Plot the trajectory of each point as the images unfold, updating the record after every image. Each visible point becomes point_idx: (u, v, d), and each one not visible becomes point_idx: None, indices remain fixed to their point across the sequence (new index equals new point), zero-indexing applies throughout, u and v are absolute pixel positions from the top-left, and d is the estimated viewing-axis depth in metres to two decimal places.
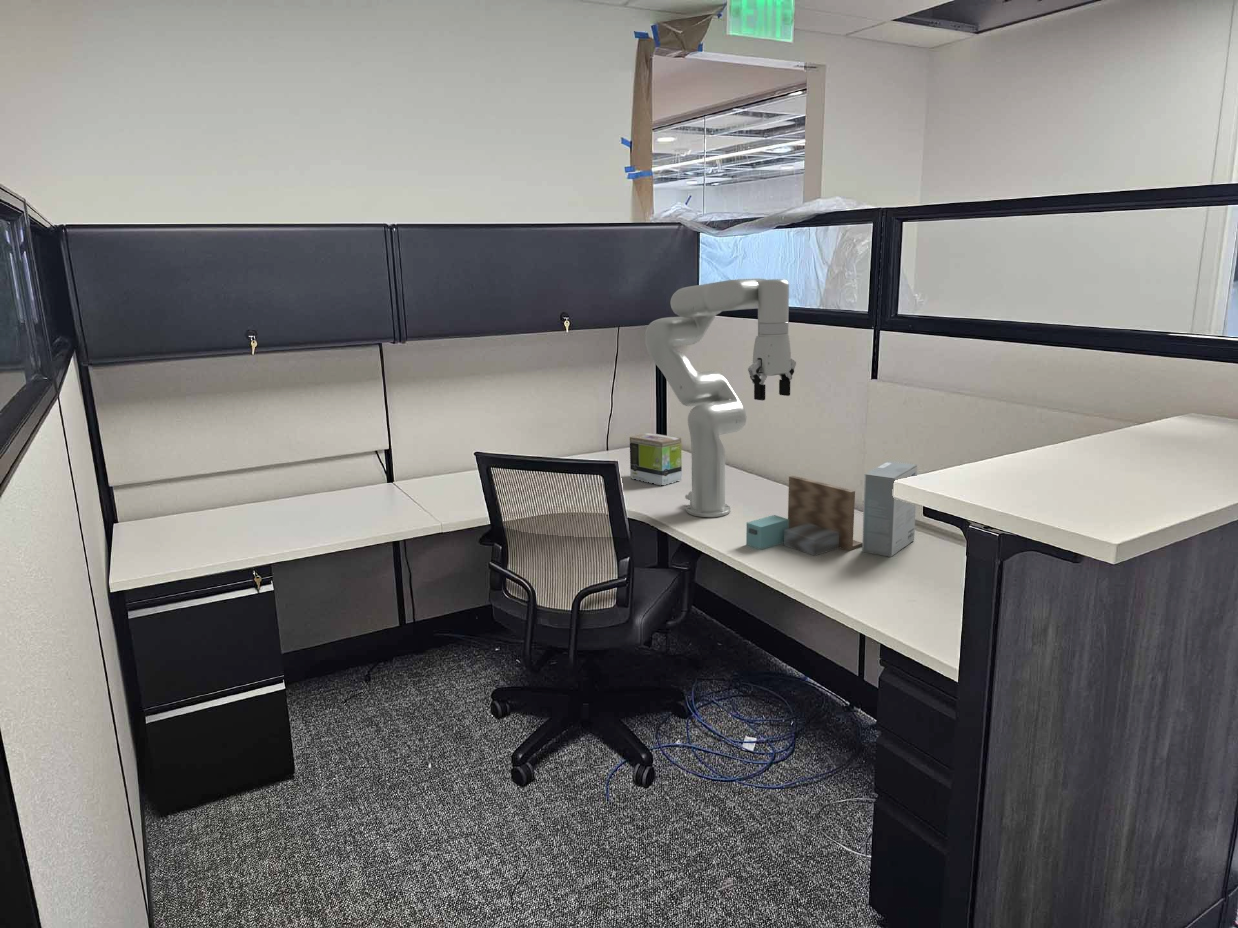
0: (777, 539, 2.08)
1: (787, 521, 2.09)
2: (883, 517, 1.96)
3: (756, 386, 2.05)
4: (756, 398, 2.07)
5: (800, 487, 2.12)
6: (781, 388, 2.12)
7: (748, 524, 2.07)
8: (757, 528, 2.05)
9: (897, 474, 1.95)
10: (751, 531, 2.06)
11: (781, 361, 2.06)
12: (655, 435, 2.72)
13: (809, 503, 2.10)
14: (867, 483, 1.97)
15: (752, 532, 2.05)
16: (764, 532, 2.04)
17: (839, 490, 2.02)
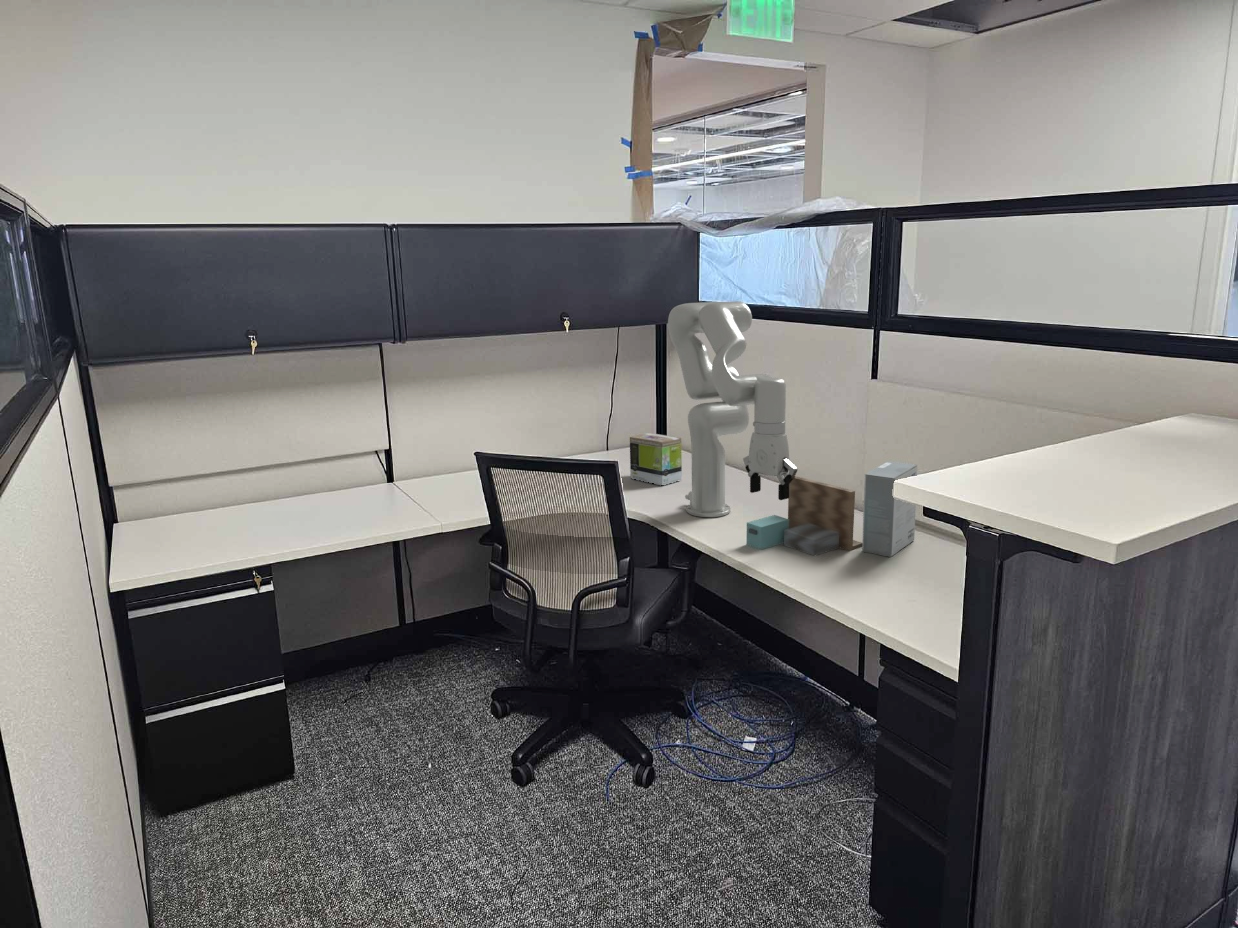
0: (777, 539, 2.08)
1: (787, 521, 2.09)
2: (883, 517, 1.96)
3: (786, 486, 2.01)
4: (782, 498, 2.02)
5: (800, 487, 2.12)
6: (754, 485, 2.09)
7: (748, 524, 2.07)
8: (757, 528, 2.05)
9: (897, 474, 1.95)
10: (751, 531, 2.06)
11: None
12: (655, 435, 2.72)
13: (809, 503, 2.10)
14: (868, 483, 1.97)
15: (752, 532, 2.05)
16: (764, 532, 2.05)
17: (839, 490, 2.02)
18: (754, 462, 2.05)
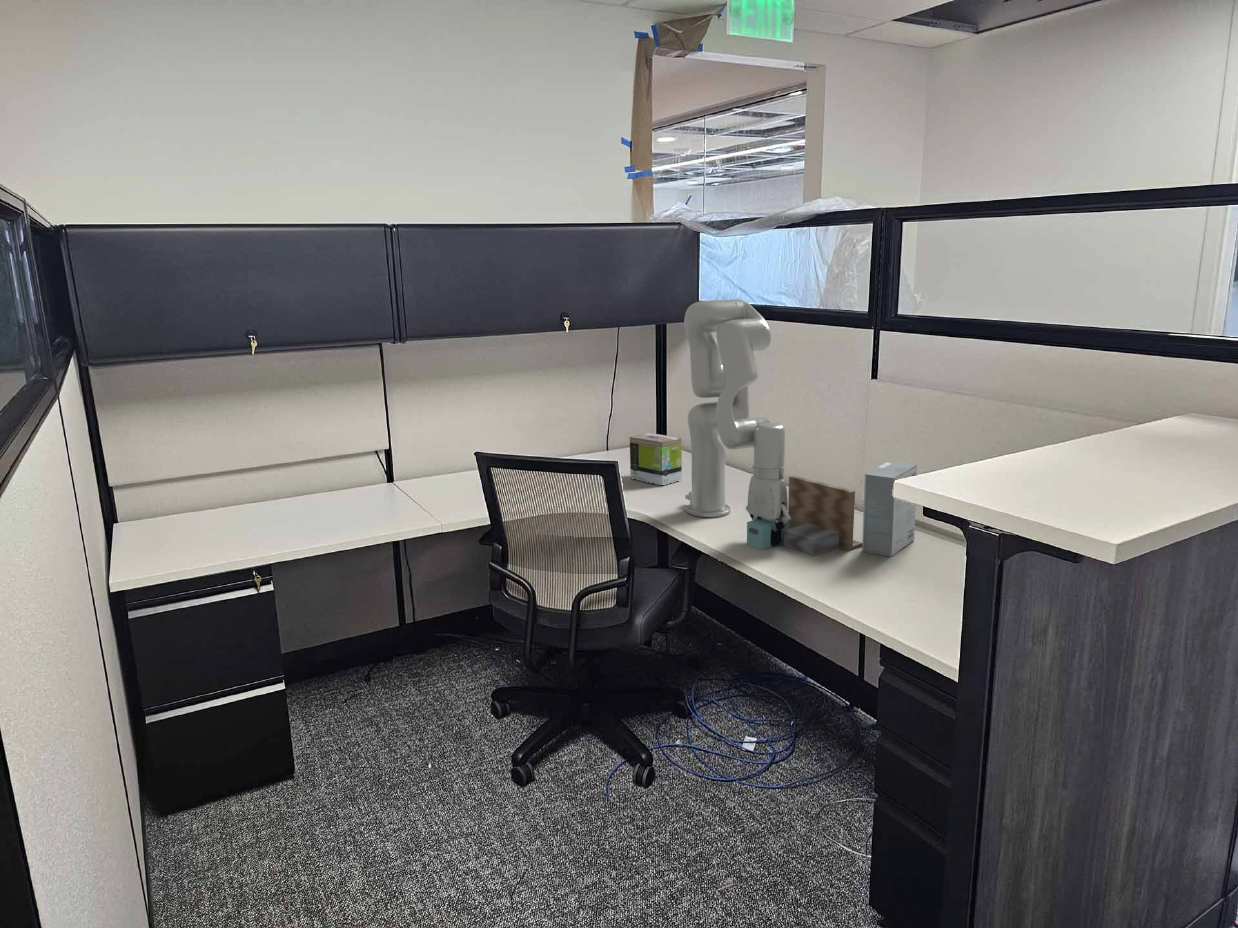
0: None
1: None
2: (883, 517, 1.96)
3: (778, 532, 2.05)
4: (774, 544, 2.06)
5: (800, 487, 2.12)
6: None
7: (748, 523, 2.07)
8: (757, 527, 2.04)
9: (897, 474, 1.95)
10: (751, 531, 2.05)
11: None
12: (655, 435, 2.72)
13: (809, 503, 2.10)
14: (867, 483, 1.97)
15: (752, 531, 2.05)
16: (765, 531, 2.04)
17: (839, 490, 2.02)
18: (753, 505, 2.07)
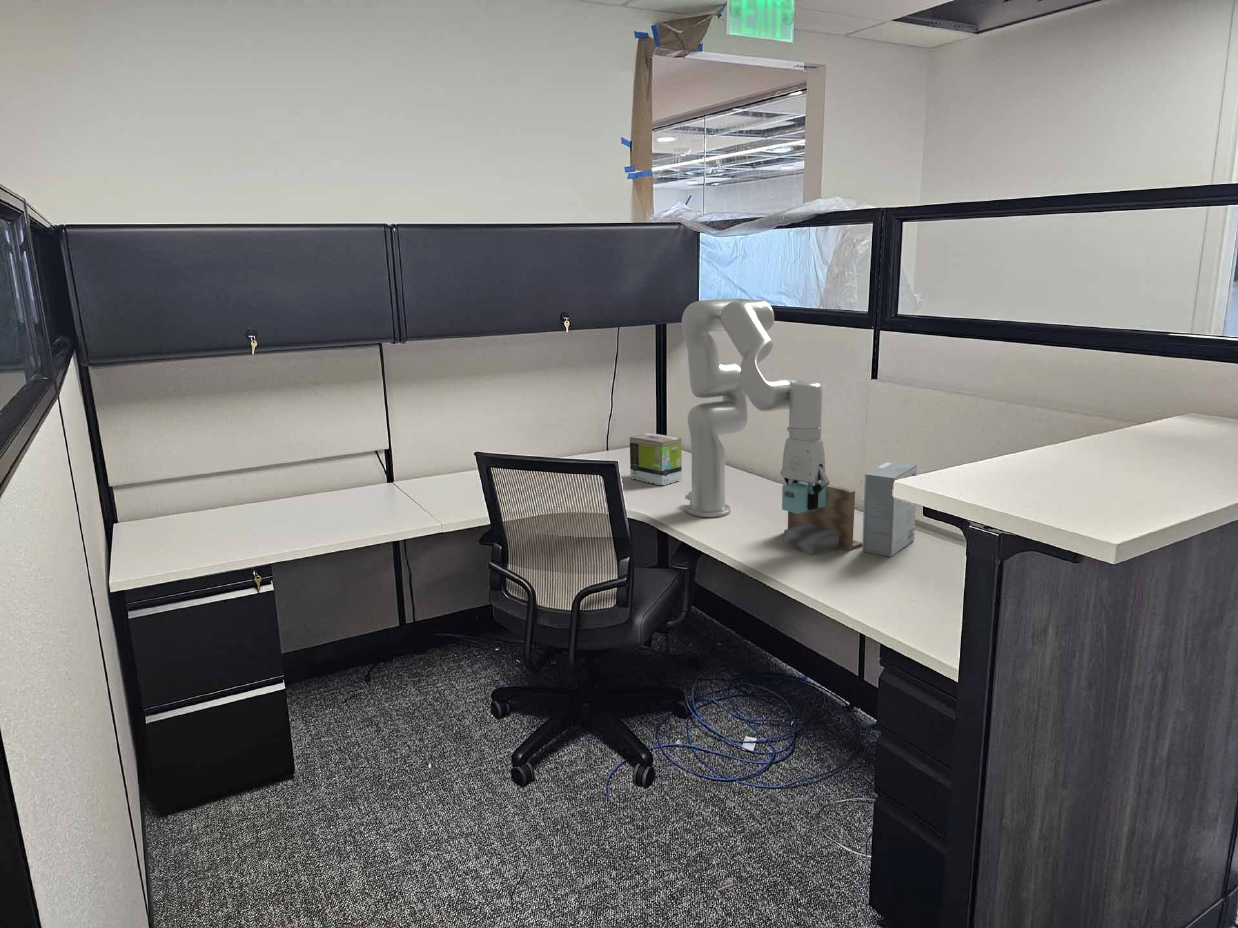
0: None
1: None
2: (883, 517, 1.96)
3: (815, 496, 1.97)
4: (811, 508, 1.98)
5: None
6: None
7: (784, 487, 1.99)
8: (793, 490, 1.96)
9: (897, 474, 1.95)
10: (787, 495, 1.97)
11: None
12: (655, 435, 2.72)
13: None
14: (867, 483, 1.97)
15: (788, 495, 1.97)
16: (801, 495, 1.96)
17: (839, 490, 2.02)
18: (788, 468, 1.99)
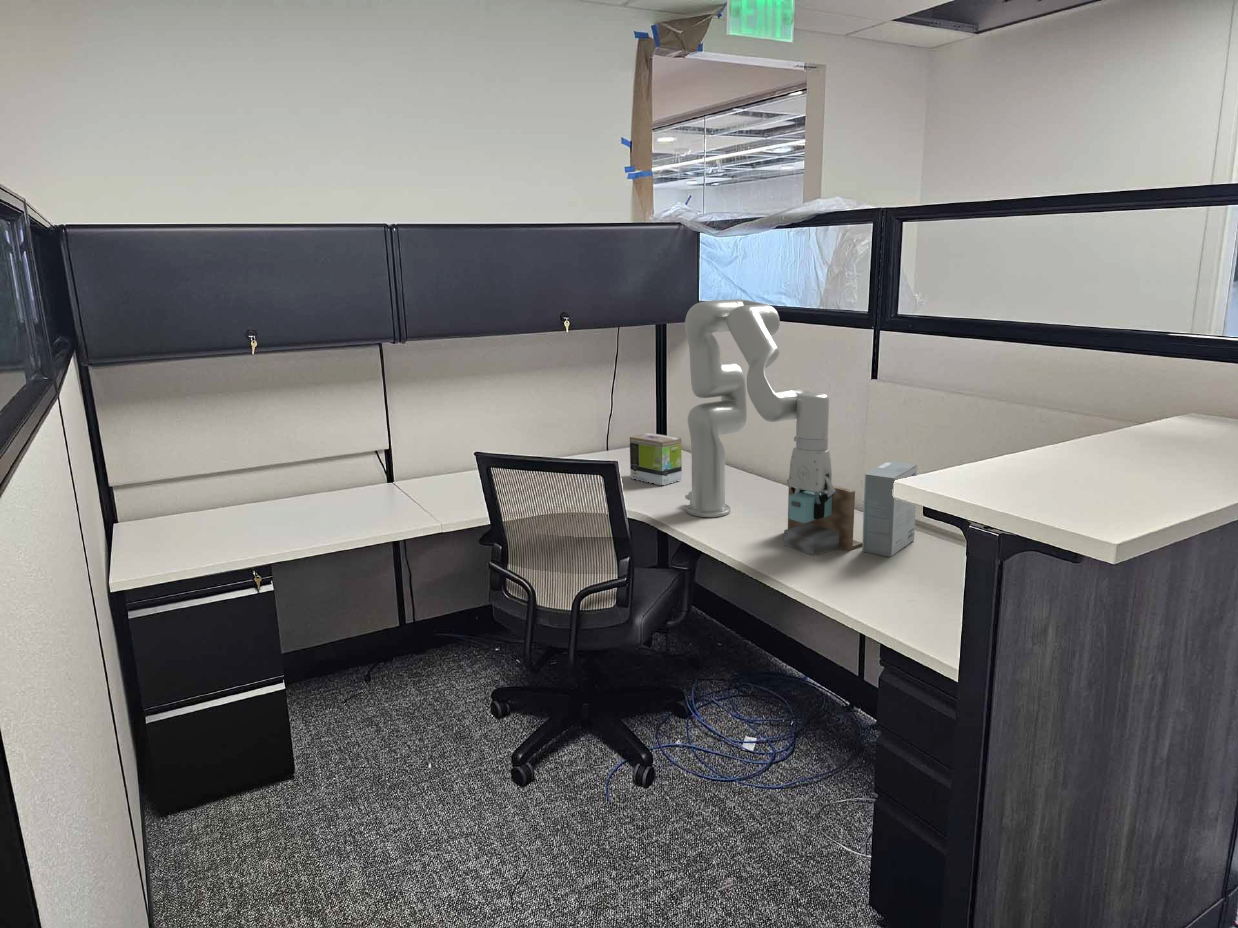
0: None
1: None
2: (883, 517, 1.96)
3: (821, 505, 1.99)
4: (817, 517, 2.00)
5: None
6: None
7: (791, 497, 2.01)
8: (800, 500, 1.99)
9: (897, 474, 1.95)
10: (794, 504, 1.99)
11: None
12: (655, 435, 2.72)
13: None
14: (867, 483, 1.97)
15: (795, 505, 1.99)
16: (808, 504, 1.98)
17: (839, 490, 2.02)
18: (795, 478, 2.02)
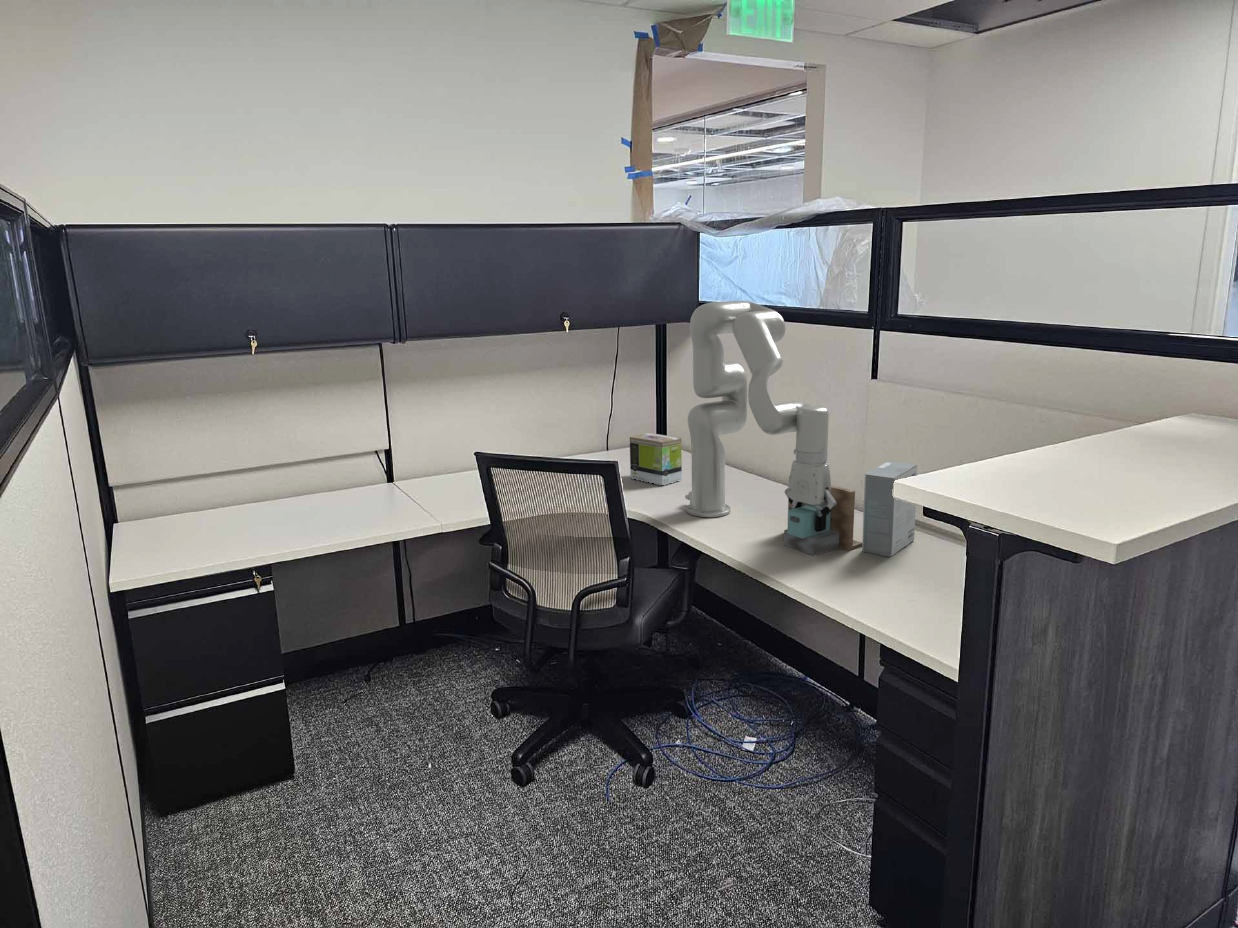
0: None
1: None
2: (883, 517, 1.96)
3: (823, 518, 2.00)
4: (819, 530, 2.01)
5: None
6: None
7: (789, 512, 2.02)
8: (799, 515, 2.00)
9: (897, 474, 1.95)
10: (793, 519, 2.01)
11: None
12: (655, 435, 2.72)
13: None
14: (867, 483, 1.97)
15: (794, 520, 2.00)
16: (807, 520, 2.00)
17: (839, 490, 2.02)
18: (795, 491, 2.02)
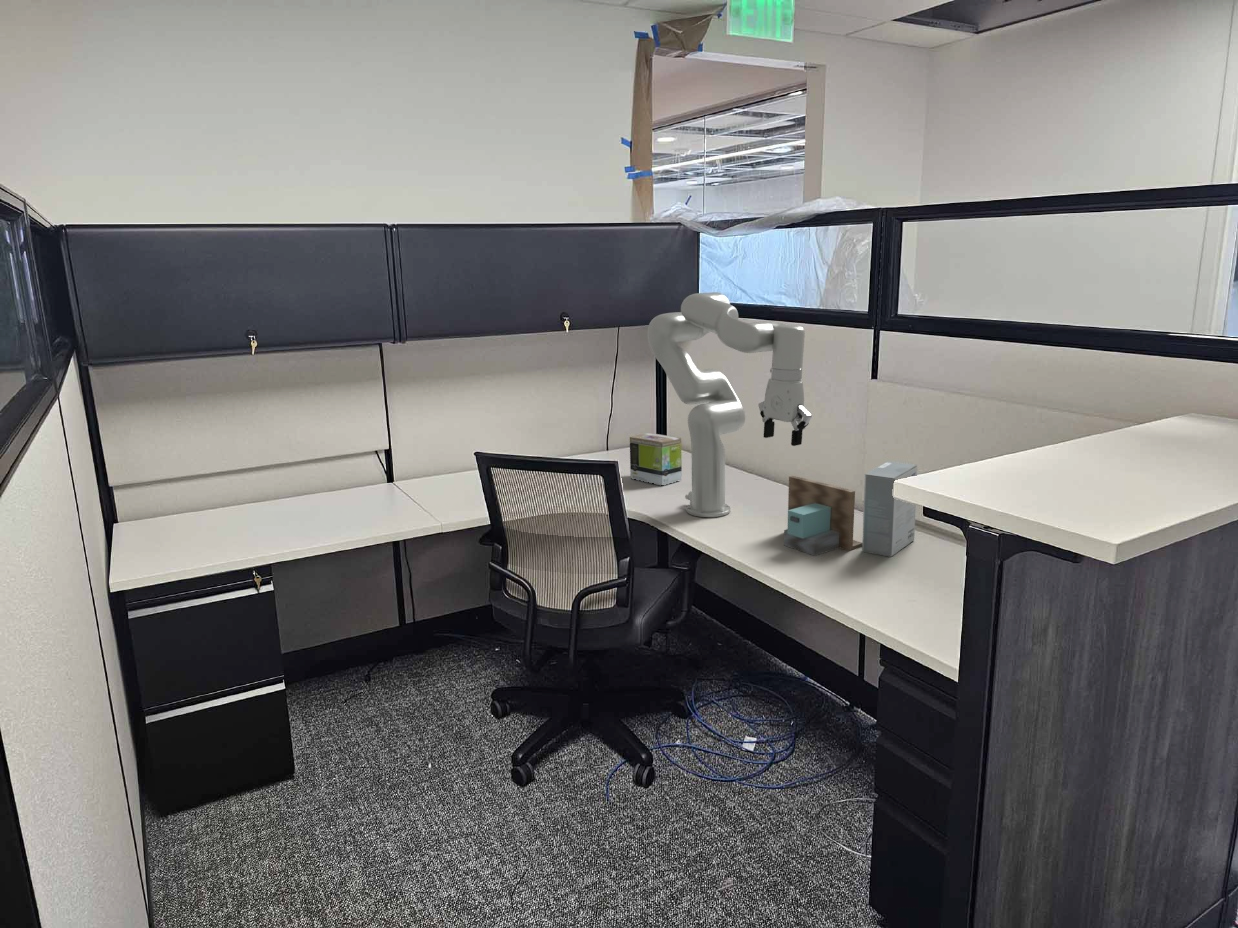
0: (819, 527, 2.03)
1: (829, 509, 2.04)
2: (883, 517, 1.96)
3: (799, 432, 2.05)
4: (794, 444, 2.06)
5: (800, 487, 2.12)
6: (768, 431, 2.13)
7: (789, 512, 2.02)
8: (799, 515, 2.00)
9: (897, 474, 1.95)
10: (793, 519, 2.01)
11: None
12: (655, 435, 2.72)
13: (809, 503, 2.10)
14: (868, 483, 1.97)
15: (794, 520, 2.00)
16: (807, 520, 2.00)
17: (839, 490, 2.02)
18: (769, 408, 2.09)
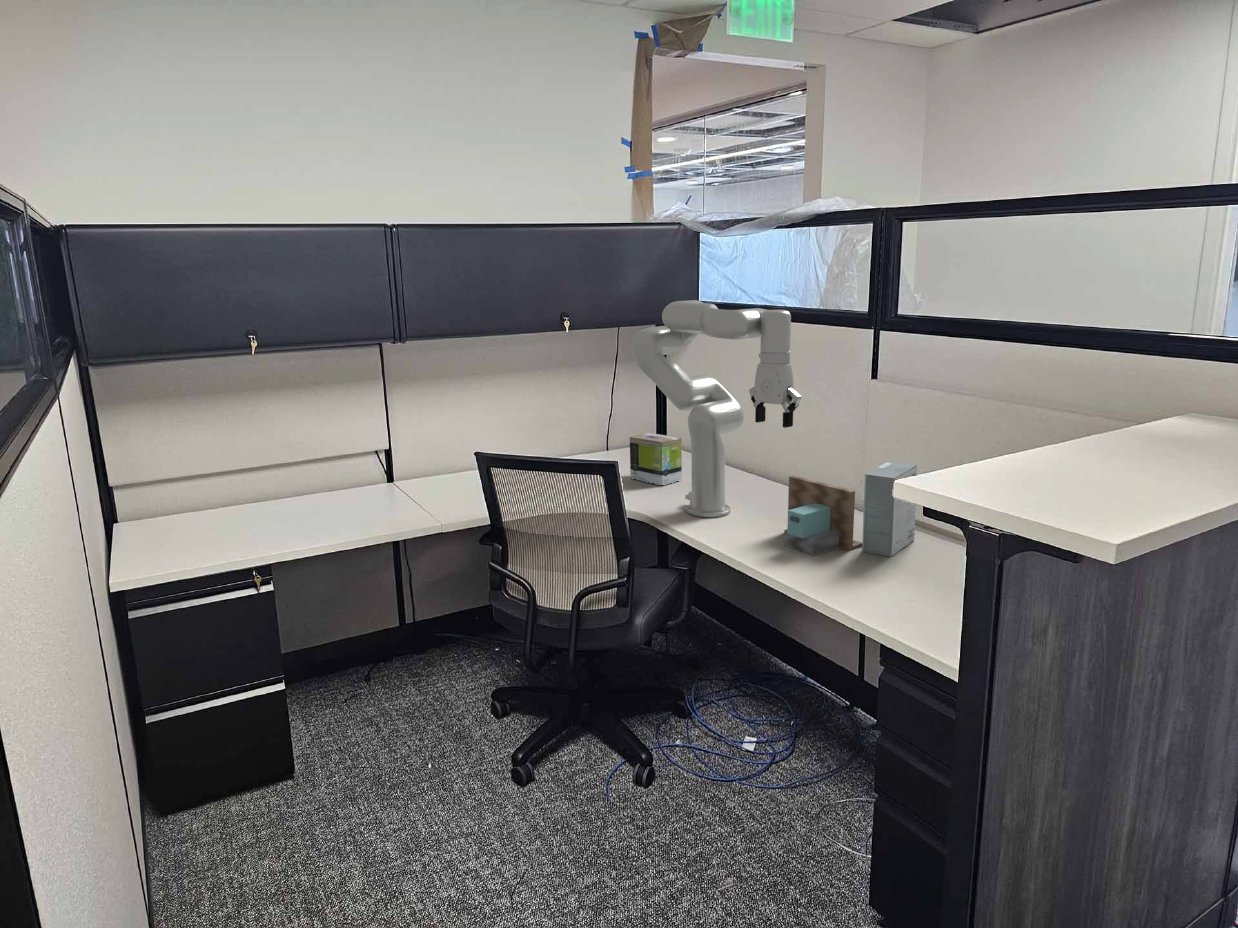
0: (819, 527, 2.03)
1: (829, 509, 2.04)
2: (883, 517, 1.96)
3: (790, 414, 2.09)
4: (786, 426, 2.10)
5: (800, 487, 2.12)
6: (759, 415, 2.18)
7: (789, 512, 2.02)
8: (799, 515, 2.00)
9: (897, 474, 1.95)
10: (793, 519, 2.01)
11: None
12: (655, 435, 2.72)
13: (809, 503, 2.10)
14: (868, 483, 1.97)
15: (794, 520, 2.00)
16: (807, 520, 2.00)
17: (839, 490, 2.02)
18: (759, 392, 2.13)
